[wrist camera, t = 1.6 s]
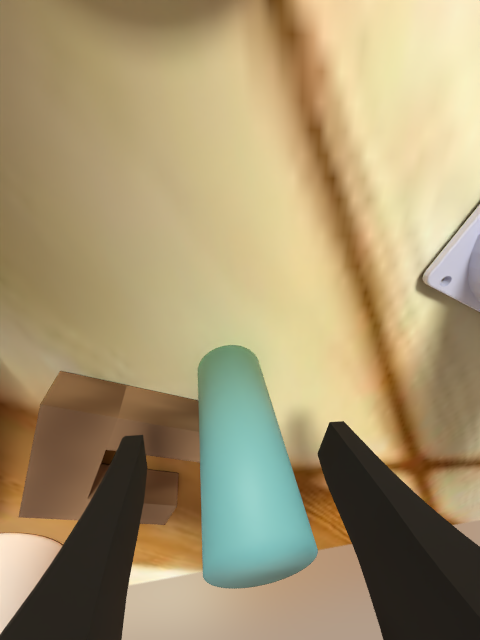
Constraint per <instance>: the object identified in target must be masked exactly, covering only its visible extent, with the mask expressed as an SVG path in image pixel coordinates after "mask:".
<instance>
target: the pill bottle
mask: <svg viewBox="0 0 480 640" xmlns="http://www.w3.org/2000/svg"><path fill="white" fill-rule="evenodd" d="M62 546H63V545H61V544H60V543H59V542H57V541H55V540H52V539H50V538H46V537H43V536H39V535H33V534H25V533H0V634H1V632H2V631H3V630H4V628H5V627H6V626H7V624H8V623H9V622H10V620H11V619H12V617H13V616H14V615H15V613H16V612H17V611H18V609H19V608H20V607H21V605H22V604H23V602H24V601H25V600H26V598H27V597H28V596H29V594H30V593H31V591H32V590H33V589H34V587H35V586H36V584H37V583H38V582H39V580H40V579H41V577H42V576H43V574H44V573H45V571H46V570H47V569H48V567H49V566H50V564H51V563H52V561H53V560H54V558H55V557H56V555H57V554H58V552H59V551H60V549H61V548H62Z"/></svg>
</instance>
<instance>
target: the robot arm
mask: <svg viewBox="0 0 480 640" xmlns="http://www.w3.org/2000/svg"><path fill="white" fill-rule="evenodd" d="M444 277H445V278H444ZM443 278H444V279H443ZM442 279H443V280H442ZM441 280H442V281H441ZM423 282H424V283H425V284H427V285H428V286H430V287H432V288H434V289H436V290H438V291H440V292H442V293H444V294H446V295H448V296H449V297H451V298H453V299H455V300H457V301H459V302H461V303H463V304H465V305H467V306H469V307H471V308H473V309H474V310H476V311H478V312H480V204H479V206H478V207H477V208H476V209H475V211H474V212H473V213H472V214H471V216H470V217H469V218H468V219H467V221H466V222H465V223H464V224H463V225H462V227H461V228H460V229H459V230H458V232H457V233H456V234H455V235H454V237H453V238H452V239H451V240H450V242H449V243H448V244H447V245H446V246H445V248H444V249H443V250H442V251H441V253H440V254H439V255H438V256H437V258H436V259H435V260H434V261H433V262H432V264H431V265H430V266H429V267H428V269H427V270H426V271H425V273H424V275H423ZM318 457H319V460H320V464H321V467H322V471H323V474H324V477H325V480H326V483H327V485H328V488H329V490H330V492H331V495H332V497H333V500H334V502H335V504H336V507H337V509H338V511H339V514H340V516H341V519H342V521H343V523H344V526H345V528H346V530H347V533H348V535H349V537H350V540H351V542H352V544H353V547H354V550H355V552H356V554H357V557H358V560H359V563H360V566H361V569H362V572H363V575H364V578H365V581H366V584H367V587H368V590H369V593H370V597H371V599H372V603H373V606H374V609H375V612H376V616H377V619H378V622H379V625H380V629H381V633H382V636H383V639H384V640H480V547H479V546H478V545H477V544H475V543H474V542H473V541H471V540H470V539H469V538H468V537H466V536H465V535H464V534H462V533H461V532H460V531H459V530H457V529H456V528H455V527H454V526H453V525H451V524H450V523H449V522H448V521H447V520H445V519H444V518H443V517H442V516H441V515H439V514H438V513H437V512H436V511H435V510H433V509H432V508H431V507H430V506H429V505H428V504H427V503H425V502H424V501H423V500H422V499H421V498H420V497H419V496H418V495H417V494H416V493H414V492H413V491H412V490H411V489H410V488H409V487H408V486H407V485H406V484H405V483H404V482H403V481H402V480H401V479H400V478H398V477H397V476H396V475H395V474H394V473H393V472H392V471H391V470H390V469H389V468H388V467H387V466H386V465H385V464H384V463H383V462H382V461H381V460H380V459H379V458H378V457H377V456H376V455H375V454H374V453H373V451H372V450H371V449H370V448H369V447H368V446H367V445H366V444H365V443H364V442H363V441H362V440H361V439H360V438H359V437H358V436H357V435H356V434H355V433H354V432H353V431H352V430H351V429H350V427H349V426H348V425H347V424H346V423H345V422H344V421H342V422H330V423H329V425H328V428H327V431H326V433H325V436H324V438H323V441H322V443H321V446H320V449H319V451H318ZM146 477H147V462H146V454H145V446H144V438H143V435H132V436H124V437H123V438H122V440H121V442H120V445H119V447H118V449H117V451H116V453H115V456H114V458H113V460H112V462H111V464H110V466H109V468H108V470H107V471H106V473H105V475H104V477H103V479H102V481H101V483H100V485H99V486H98V488H97V490H96V492H95V493H94V495H93V497H92V499H91V501H90V502H89V504H88V506H87V507H86V509H85V511H84V512H83V514H82V516H81V517H80V519H79V521H78V522H77V524H76V525H75V527H74V529H73V530H72V532H71V534H70V535H69V537H68V538H67V540H66V541H65V543H64V545H63V546H62V548H61V549H60V551H59V552H58V554H57V555H56V557H55V558H54V560H53V561H52V563H51V564H50V566H49V567H48V569H47V570H46V571H45V573H44V574H43V576H42V577H41V579H40V580H39V582H38V583H37V584H36V586H35V587H34V589H33V590H32V591H31V593H30V594H29V596H28V597H27V598H26V600H25V601H24V602H23V604H22V605H21V607H20V608H19V609H18V611H17V612H16V613H15V615H14V616H13V617H12V619H11V620H10V622H9V623H8V624H7V626H6V627H5V628H4V630H3V631H2V632H1V634H0V640H121V638H122V629H123V620H124V612H125V603H126V596H127V589H128V583H129V577H130V572H131V567H132V562H133V556H134V551H135V546H136V541H137V536H138V530H139V525H140V520H141V515H142V509H143V504H144V497H145V488H146Z"/></svg>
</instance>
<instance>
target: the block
mask: <svg viewBox="0 0 480 640" xmlns="http://www.w3.org/2000/svg"><path fill="white" fill-rule="evenodd" d="M132 435H143V438H144V446H145V454H146V455H149V456H156V457H164V458H171V459H179V460H186V461H193V462H200V440H199V402H198V401H197V400H193V399H188V398H184V397H179V396H174V395H170V394H165V393H160V392H156V391H151V390H146V389H142V388H137V387H132V386H128V385H123V384H118V383H114V382H109V381H105V380H100V379H95V378H91V377H86V376H81V375H77V374H72V373H67V372H63V371H60V372H59V374H58V376H57V377H56V379H55V381H54V382H53V384H52V386H51V387H50V389H49V391H48V392H47V394H46V396H45V397H44V399H43V401H42V403H41V404H40V409H39V414H38V419H37V425H36V430H35V435H34V440H33V445H32V450H31V456H30V461H29V466H28V471H27V476H26V481H25V487H24V492H23V497H22V502H21V507H20V512H19V517H24V518H43V519H62V520H79V519H80V517H81V516H82V514H83V512H84V511H85V509H86V507H87V506H88V504H89V502H90V501H91V499H92V497H93V495H94V493H95V492H96V490H97V488H98V486H99V485H100V483H101V481H102V479H103V477H104V475H105V473H106V471H107V470H108V468H109V466H110V465H104V464H101V461H102V459H103V456H104V454H105V451H106V450H112V451H117V449H118V447H119V445H120V442H121V440H122V438H123V437H124V436H132ZM177 494H178V473H172V472H164V471H155V470H147V477H146V488H145V497H144V504H143V509H142V515H141V520H140V524H158V525H165V524H166V522H167V521H168V519H169V518H170V516H171V514H172V513H173V511H174V510H175V508H176V507H177Z"/></svg>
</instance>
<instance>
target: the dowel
mask: <svg viewBox="0 0 480 640" xmlns="http://www.w3.org/2000/svg"><path fill="white" fill-rule="evenodd" d="M198 402H199V440H200V478H201V517H202V555H203V577H204V579H205V581H206V582H207V583H209V584H211V585H213V586H217V587H221V588H248V587H255V586H260V585H265V584H269V583H272V582H276V581H279V580H282V579H284V578H287V577H289V576H292V575H293V574H296V573H298V572H299V571H301V570H303V569H304V568H306V567H307V566H308V565H310V564H311V563H312V562H313V560H314V559H315V558H316V556H317V553H318V549H317V546H316V543H315V540H314V537H313V534H312V530H311V527H310V524H309V521H308V518H307V514H306V511H305V508H304V505H303V502H302V498H301V495H300V492H299V489H298V486H297V483H296V479H295V476H294V473H293V470H292V467H291V463H290V460H289V457H288V454H287V451H286V447H285V444H284V441H283V438H282V435H281V432H280V428H279V425H278V422H277V419H276V416H275V412H274V409H273V406H272V403H271V400H270V396H269V393H268V390H267V387H266V384H265V381H264V377H263V374H262V371H261V368H260V365H259V361H258V359H257V357H256V356H255V354H254V353H253V352H251V351H250V350H248V349H247V348H244V347H241V346H235V345H229V346H222V347H219V348H216V349H214V350H212V351H210V352H209V353H208V354H206V355H205V356H204V357H203V359H202V360H201V362H200V364H199V366H198Z"/></svg>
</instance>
